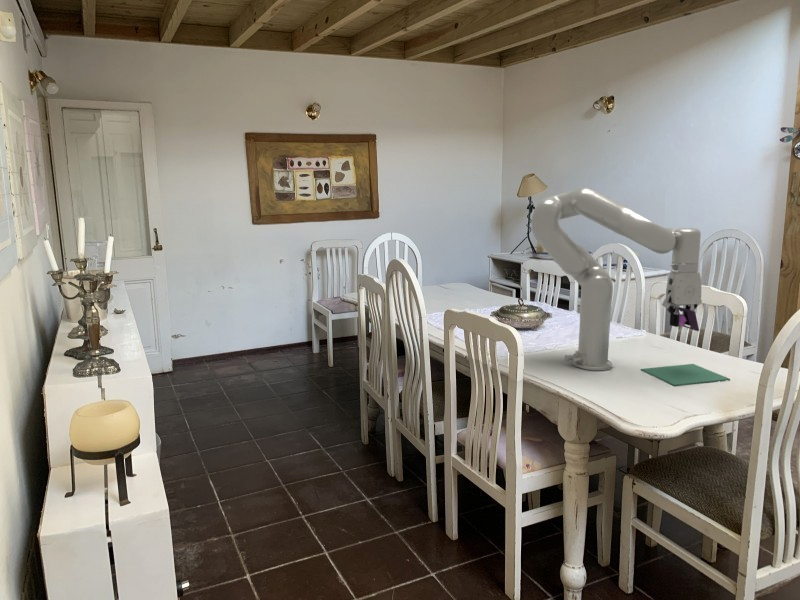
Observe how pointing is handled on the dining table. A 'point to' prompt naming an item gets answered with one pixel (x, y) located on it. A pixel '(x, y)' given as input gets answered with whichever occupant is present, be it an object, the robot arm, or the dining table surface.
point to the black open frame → (691, 318)
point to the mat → (684, 374)
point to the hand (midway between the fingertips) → (680, 324)
